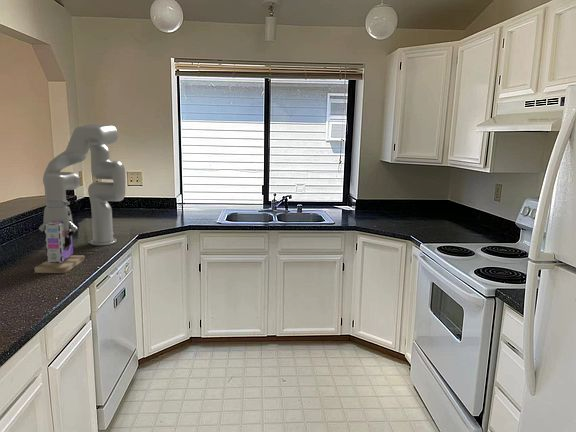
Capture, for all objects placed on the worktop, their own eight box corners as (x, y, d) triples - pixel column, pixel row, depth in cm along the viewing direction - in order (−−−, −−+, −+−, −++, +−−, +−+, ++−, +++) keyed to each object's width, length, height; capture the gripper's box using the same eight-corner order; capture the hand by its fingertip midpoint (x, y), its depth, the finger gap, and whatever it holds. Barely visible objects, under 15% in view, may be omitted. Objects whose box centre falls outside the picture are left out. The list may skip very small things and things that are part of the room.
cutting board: (57, 259, 183) (56, 255, 183) (84, 259, 184) (84, 255, 183) (34, 272, 165) (34, 267, 165) (65, 272, 166) (65, 268, 166)
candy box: (62, 263, 168) (59, 224, 165) (46, 263, 167) (43, 224, 164) (73, 253, 181) (71, 217, 178) (59, 253, 180) (56, 217, 177)
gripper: (81, 202, 174) (84, 243, 177) (39, 202, 173) (43, 243, 176) (73, 206, 166) (76, 248, 170) (29, 205, 165) (33, 248, 169)
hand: (59, 245), depth 173 cm, fingers closed on candy box, 6 cm apart
